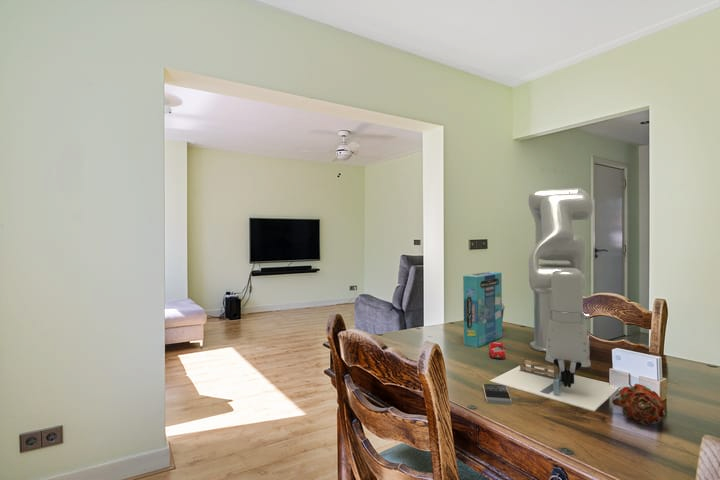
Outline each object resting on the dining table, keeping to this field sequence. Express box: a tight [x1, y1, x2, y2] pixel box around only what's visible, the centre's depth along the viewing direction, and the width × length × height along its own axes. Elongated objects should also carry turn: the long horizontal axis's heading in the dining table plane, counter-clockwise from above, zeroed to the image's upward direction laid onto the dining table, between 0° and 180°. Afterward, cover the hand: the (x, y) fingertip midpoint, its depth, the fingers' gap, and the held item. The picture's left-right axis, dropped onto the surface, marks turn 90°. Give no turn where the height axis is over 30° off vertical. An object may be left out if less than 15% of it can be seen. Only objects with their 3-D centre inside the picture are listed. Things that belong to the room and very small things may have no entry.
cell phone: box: [482, 383, 513, 406], centre depth 102 cm, size 6×11×1 cm, turn 167°
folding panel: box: [553, 371, 563, 395], centre depth 106 cm, size 14×1×3 cm, turn 145°
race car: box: [488, 341, 507, 360], centre depth 138 cm, size 13×5×4 cm, turn 162°
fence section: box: [519, 357, 560, 379], centre depth 116 cm, size 11×1×4 cm, turn 42°
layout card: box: [489, 364, 618, 413], centre depth 109 cm, size 22×27×1 cm
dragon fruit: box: [611, 383, 667, 426], centre depth 88 cm, size 8×8×12 cm
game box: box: [462, 271, 503, 349], centre depth 155 cm, size 20×6×27 cm, turn 135°
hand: (567, 385), depth 103 cm, fingers closed
